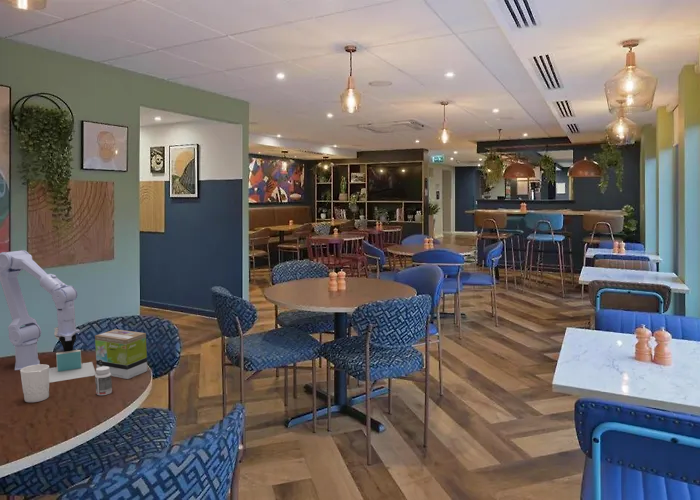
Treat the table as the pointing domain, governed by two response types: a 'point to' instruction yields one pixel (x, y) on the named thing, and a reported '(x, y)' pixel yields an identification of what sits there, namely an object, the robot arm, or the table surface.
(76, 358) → the tile
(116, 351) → the tea box
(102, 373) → the pill bottle
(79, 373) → the mat
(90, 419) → the table surface
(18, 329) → the robot arm
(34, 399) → the white cup
